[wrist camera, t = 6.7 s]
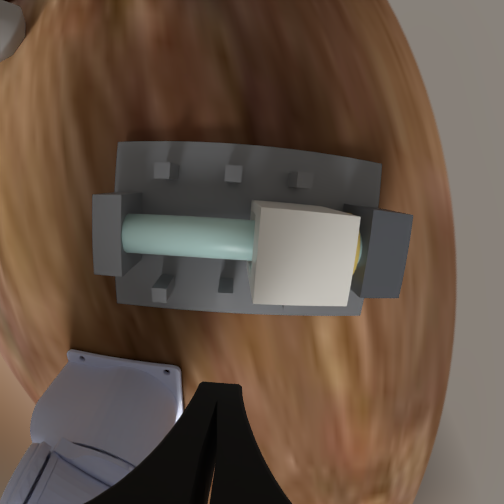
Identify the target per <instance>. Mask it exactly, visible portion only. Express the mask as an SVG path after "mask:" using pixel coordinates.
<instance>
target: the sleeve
mask: <svg viewBox="0 0 504 504" xmlns="http://www.w3.org/2000/svg"><path fill="white" fill-rule="evenodd" d="M360 219H361V217H359V216H356V215H352V214H349V213H345V212H341V211H338V210H334V209H330V208H326V207H323V206H314V205H304V204H294V203H283V202H271V201H259V200H252V203H251V215H250V220H255V229H254V241H253V254H252V261H248V260H247V273H248V278H249V284H250V290H251V296H252V301H253V304H267V305H296V306H347V302H348V297H349V291H350V286H351V280H352V274H353V268H354V262H355V256H356V249H357V242H358V235H359V227H360Z"/></svg>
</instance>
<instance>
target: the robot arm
mask: <svg viewBox="0 0 504 504" xmlns="http://www.w3.org/2000/svg"><path fill="white" fill-rule="evenodd" d="M82 356H83V357H84V358H85V359H83V358H82ZM67 357H68V361H69V362H68V363H67V364H66V365H65V367H64V368H63V369H62V370H61V372H60V373H59V374H58V376H57V377H56V378H55V379H54V381H53V382H52V383H51V385H50V386H49V387H48V388H47V390H46V391H45V392H44V394H43V395H42V396H41V398H40V399H39V400H38V402H37V404H36V406H35V408H34V411H33V414H32V418H31V426H30V432H31V439H32V444H31V445H30V447H29V448H28V450H27V451H26V453H25V454H24V456H23V457H22V459H21V461H20V463H19V464H18V466H17V468H16V470H15V471H14V473H13V475H12V477H11V479H10V481H9V483H8V484H7V486H6V489H5V491H4V493H3V495H2V497H1V500H0V504H207V503H208V497H209V491H210V487H211V482H212V477H213V472H214V478H213V485H212V491H211V498H210V504H292V503H291V502H290V500H289V499H288V498H287V496H286V495H285V494H284V492H283V491H282V489H281V488H280V486H279V484H278V483H277V481H276V480H275V478H274V476H273V475H272V473H271V471H270V469H269V468H268V466H267V464H266V462H265V460H264V458H263V456H262V454H261V452H260V449H259V447H258V445H257V443H256V440H255V438H254V435H253V432H252V430H251V427H250V424H249V421H248V418H247V415H246V411H245V407H244V402H243V396H242V387H241V386H240V385H239V384H226V383H213V382H201V383H200V384H199V386H198V388H197V390H196V392H195V394H194V396H193V398H192V399H191V401H190V403H189V404H188V406H187V407H186V409H185V410H183V396H182V381H181V370H180V368H179V367H178V366H175V365H168V364H159V363H151V362H143V361H136V360H129V359H122V358H116V357H110V356H105V355H99V354H94V353H89V352H84V351H79V350H74V349H70V350H69V351H68V352H67ZM165 370H169V371H170V372H166V371H165ZM214 468H215V471H214Z"/></svg>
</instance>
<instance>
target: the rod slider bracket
mask: <svg viewBox="0 0 504 504" xmlns="http://www.w3.org/2000/svg"><path fill="white" fill-rule="evenodd" d="M381 172H382V164H380V163H375V162H370V161H365V160H360V159H354V158H349V157H343V156H337V155H330V154H324V153H317V152H310V151H302V150H294V149H286V148H277V147H267V146H257V145H245V144H231V143H213V142H186V141H133V142H118V148H117V160H116V174H115V192H112V193H102V194H93V195H92V242H93V264H94V274H97V275H107V276H115V281H116V295H117V303H121V304H130V305H139V306H149V307H159V308H170V309H182V310H195V311H209V312H225V313H244V314H269V315H310V316H358V315H360V314H361V310H362V305H363V300H364V298H399V294H400V289H401V285H402V280H403V275H404V270H405V265H406V259H407V254H408V248H409V242H410V235H411V228H412V221H413V215H410V214H405V213H400V212H396V211H391V210H386V209H381V208H378V205H379V195H380V184H381ZM252 200H259V201H271V202H283V203H294V204H304V205H314V206H323V207H326V208H330V209H334V210H338V211H341V212H345V213H351V214H352V215H356V216H359V217H361V219H360V227H359V231H360V254H359V259H358V263H357V267H356V269H355V272H354V274H353V275H352V280H351V286H350V291H349V297H348V302H347V306H296V305H267V304H253V301H252V296H251V290H250V284H249V278H248V273H247V260H248V261H252V254H253V241H254V229H255V220H250V215H251V203H252Z"/></svg>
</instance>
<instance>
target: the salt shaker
mask: <svg viewBox="0 0 504 504" xmlns="http://www.w3.org/2000/svg"><path fill="white" fill-rule="evenodd" d="M25 29H26V22H25V19H24V16H23V12H22V9H21V8H20V6H18V5H15V4H12V3H9V2H6V1H3V0H0V62H1V61H3V60H5V59H6V58H8V57H10V56H12V55H13V54H14V52H15V51H16V49H17V48H18V46H19V45H20V44H21V42H22V41H23V39H24V38H25Z"/></svg>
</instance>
